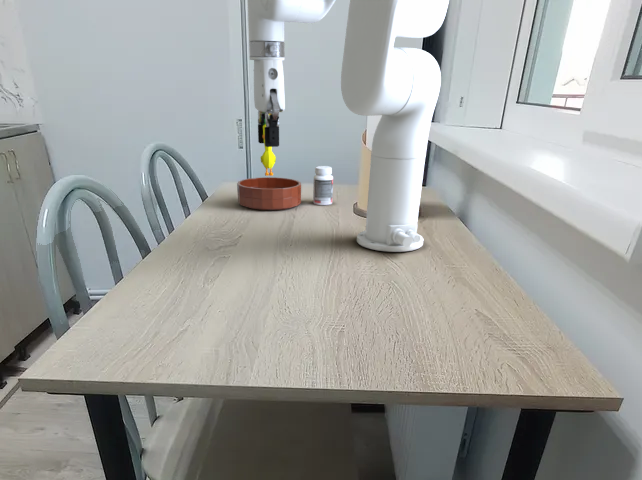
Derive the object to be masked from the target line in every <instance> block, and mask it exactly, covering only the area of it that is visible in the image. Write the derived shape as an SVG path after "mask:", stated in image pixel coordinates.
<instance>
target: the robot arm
mask: <svg viewBox="0 0 642 480" xmlns="http://www.w3.org/2000/svg"><path fill="white" fill-rule="evenodd" d="M335 3H336V0H247V21H248V22H247V23H248V25H247V27H248V54H249V58H248V59H249V61H253V102H254V109H256V110H257V142H258V143H259V144H264V139H263V136H262V135H263V124H265V121H264V119H265V120H266V127H265V146H266V147H272V148H276V147H277V148H278V147H279V146H280V116H279V115H280V113H284V112H285V110H286V98H285V97H286V96H285V77H284V75H285V74H284V66H283V65H284V64H283V61H285V59H286V57H285V23H298V24H315V23H318V22H320V21H321V20H322V19H323V18H325V16H326V15H327V14H328V13H329V12H330V10H331V9H332V7H333V6H334V4H335ZM449 3H450V0H349V3H348V6H349V7H348V12H347V21H346V28H345V37H344V45H343V53H342V54H343V55H342V63H341V72H340V90H341V96H342V100H343V102H344V104H345V106H346V108H347V109H348V110H349V111H350V112H352V113H353V114H356V115H357V116H364V117H367V116H368V117H372V116H373V117H374V116H380V119H379V121H378V123H377V126H376V128H375V131H374V133H373V138H372V143H371V153H370V163H369V165H370V166H369V179H368V190H367V191H368V193H367V205H366V206H367V207H366V221H365V230H363V231H360V232H359V233H358V234H357V235H356V242H357V243H358V245H360V246H361V247H363V248H366V249H370V250H375V251H379V252H387V253H401V252H411V251H415V250H418V249H421V248H422V247H423V245H424V238H423V236H422V235H420V233H419V234H418V233H417V232H418V220H419V213H420V211H419V210H420V204H421V195H422V186H423V179H424V170H425V162H426V156H427V149H428V142H429V135H430V129H431V124H432V119H433V115H434V112H435V108H436V105H437V102H438V98H439V94H440V89H441V83H442V76H441V75H442V74H441V69H440V65H439V63H438V61H437V60H436V59H435V57H434V56H433V55H432V54H431V53H429V52H427V51H426V50H423V49H421V48H416V47H403V46H401V47H400V46H399V47H398V46H394V45H395V40H396V38H408V39H409V38H410V39H411V38H412V39H420V38H421V39H422V38H428V37H430V36H432V35H434V34H436V32H437V31H438V30H440V28H441V27H442V25H443V23H444V20H445V17H446V14H447V10H448V8H449ZM265 146H264V147H265Z"/></svg>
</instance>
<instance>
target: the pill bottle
mask: <svg viewBox="0 0 642 480" xmlns="http://www.w3.org/2000/svg"><path fill="white" fill-rule="evenodd" d="M314 174H315V175H314V176H313V190H312V191H313V194H312V195H313V196H312V197H313V200H312V202H313V204H314V205H317V206H330V205H332V204H333V199H334V198H333V193H334V176H333V175H332V174H333V167H332V166H328V165H318V166H315V168H314Z"/></svg>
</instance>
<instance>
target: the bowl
mask: <svg viewBox="0 0 642 480" xmlns="http://www.w3.org/2000/svg"><path fill="white" fill-rule="evenodd" d="M236 189H237V191H236V192H237V203H238V204H239V205H240V206H243V207H246V208H248V209H251V210H257V211H281V210H282V211H283V210H288V209H291V208H294V207H297V206H300V205H301V204H302V182H301V181H299V180H297V179H293V178H286V177H275V176H274V177H273V176H266V177H265V176H263V177H261V176H260V177H251V178H245V179H241V180H238V181H237V183H236Z"/></svg>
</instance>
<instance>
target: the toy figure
mask: <svg viewBox="0 0 642 480" xmlns="http://www.w3.org/2000/svg"><path fill="white" fill-rule="evenodd" d="M264 121H265V124H263V135H262V136H263V139H264V143H263V145H264V152H263V153H262V155H260V163H262V165H263V167H264V168H265V171H264V175H265V176H266V177H273V176H274V171H273V170H272V169H273V167H274V166H275V164H276V162H277V161H276V160H277V156H276V154H274V152H273V151H272V150H273V147H266V146H265V127H266V120H265V119H264ZM268 170H269V171H268ZM272 171H273V172H272ZM265 176H264V177H265Z"/></svg>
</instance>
